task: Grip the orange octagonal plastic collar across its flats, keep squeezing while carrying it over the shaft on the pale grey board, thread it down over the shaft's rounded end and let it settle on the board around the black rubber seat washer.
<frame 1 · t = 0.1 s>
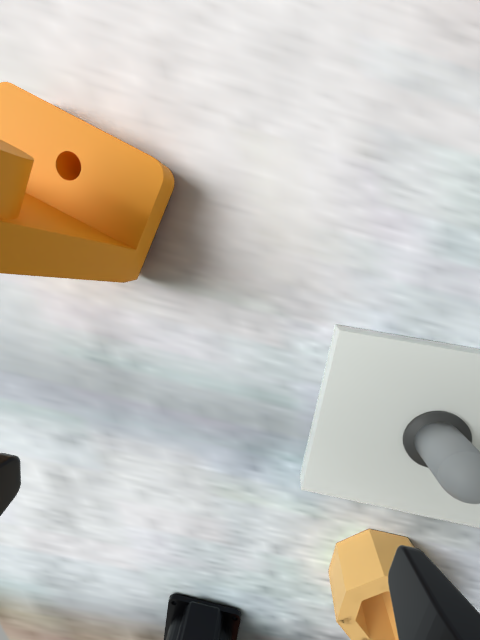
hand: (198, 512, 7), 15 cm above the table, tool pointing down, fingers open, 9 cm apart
collar: (376, 567, 24), on the table
shaft board: (424, 425, 21), on the table
bracket: (92, 192, 21), on the table
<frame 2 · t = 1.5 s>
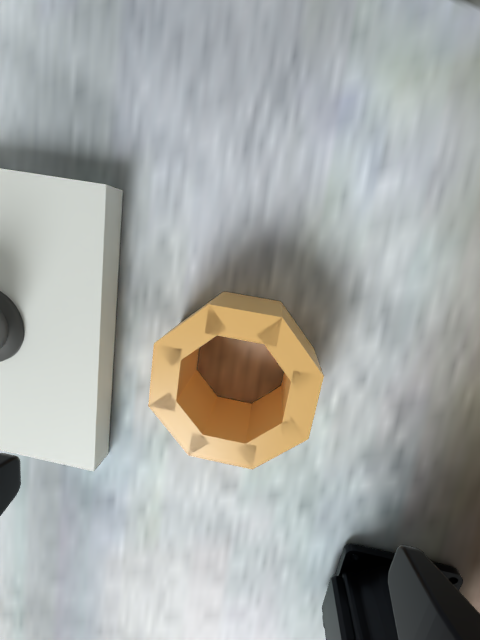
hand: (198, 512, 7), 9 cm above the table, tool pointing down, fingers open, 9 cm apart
collar: (241, 361, 16), on the table
shaft board: (12, 317, 17), on the table
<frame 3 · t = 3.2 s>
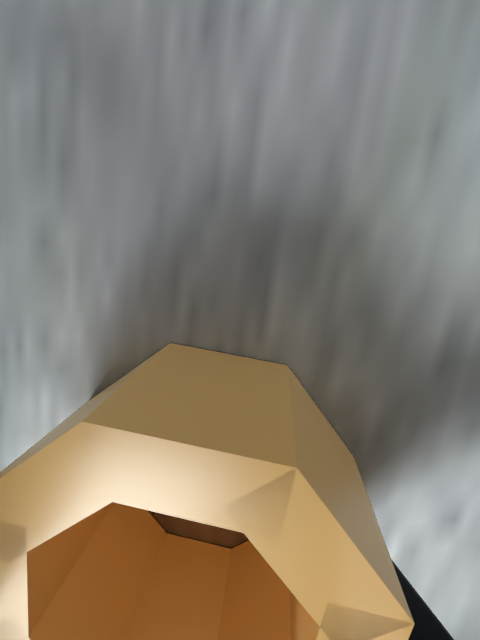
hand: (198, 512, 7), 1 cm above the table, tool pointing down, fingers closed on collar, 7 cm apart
collar: (209, 474, 8), on the table, touching gripper
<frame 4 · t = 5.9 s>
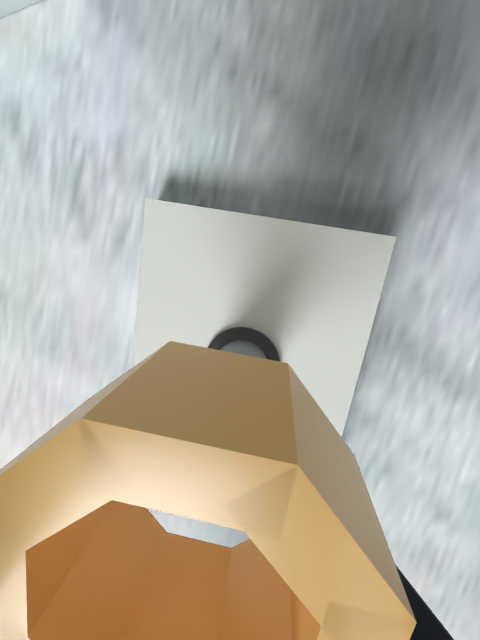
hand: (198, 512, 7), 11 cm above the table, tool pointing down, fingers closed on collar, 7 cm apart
collar: (209, 473, 8), point 10 cm above the table, touching gripper
shaft board: (244, 353, 18), on the table
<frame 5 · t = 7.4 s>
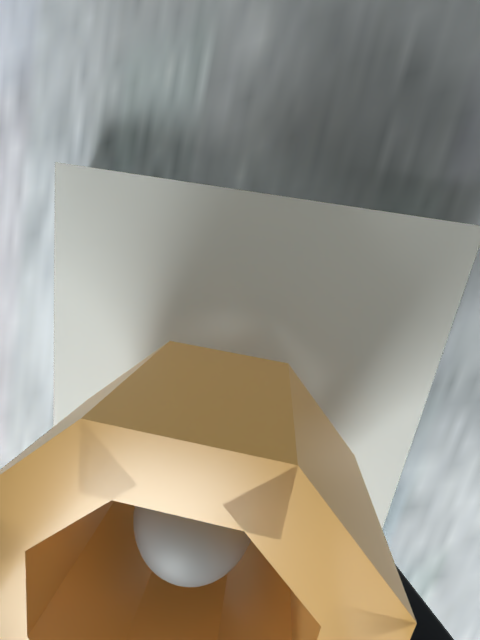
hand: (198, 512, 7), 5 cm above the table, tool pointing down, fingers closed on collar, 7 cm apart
collar: (209, 473, 8), point 4 cm above the table, touching gripper
shaft board: (227, 406, 12), on the table
when the fingers open (4 cm above the table, at t = 8.7 s): collar stays where it is, resting on shaft board.
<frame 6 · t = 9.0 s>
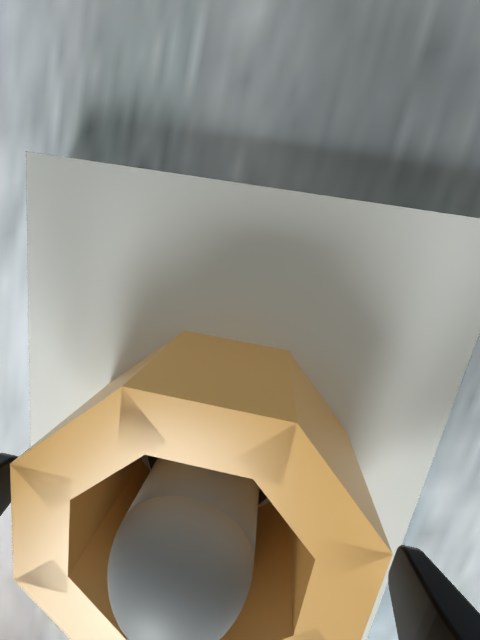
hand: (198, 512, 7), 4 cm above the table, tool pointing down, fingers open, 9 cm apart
collar: (217, 449, 9), point 1 cm above the table, touching shaft board
shaft board: (223, 423, 11), on the table
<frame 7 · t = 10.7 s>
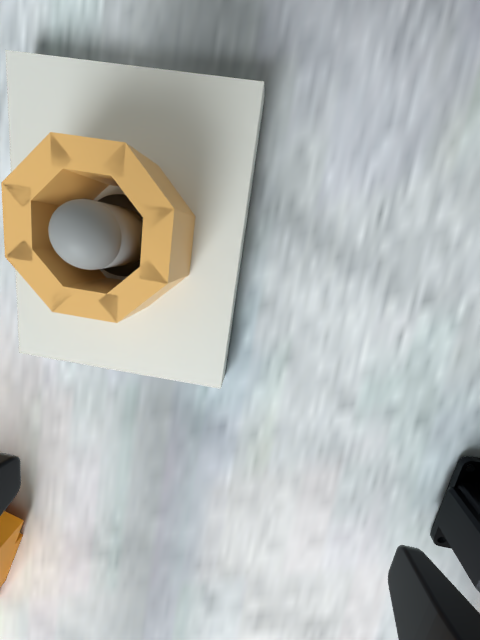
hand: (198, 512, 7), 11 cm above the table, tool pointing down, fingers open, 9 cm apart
collar: (125, 235, 16), point 1 cm above the table, touching shaft board
shaft board: (136, 237, 17), on the table
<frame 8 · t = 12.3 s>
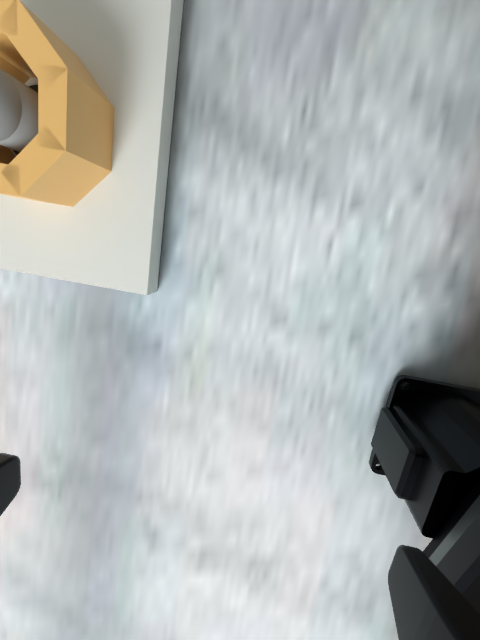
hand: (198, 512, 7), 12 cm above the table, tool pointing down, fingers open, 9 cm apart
collar: (48, 131, 16), point 1 cm above the table, touching shaft board
shaft board: (66, 142, 17), on the table
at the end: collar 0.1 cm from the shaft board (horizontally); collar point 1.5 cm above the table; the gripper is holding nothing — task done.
